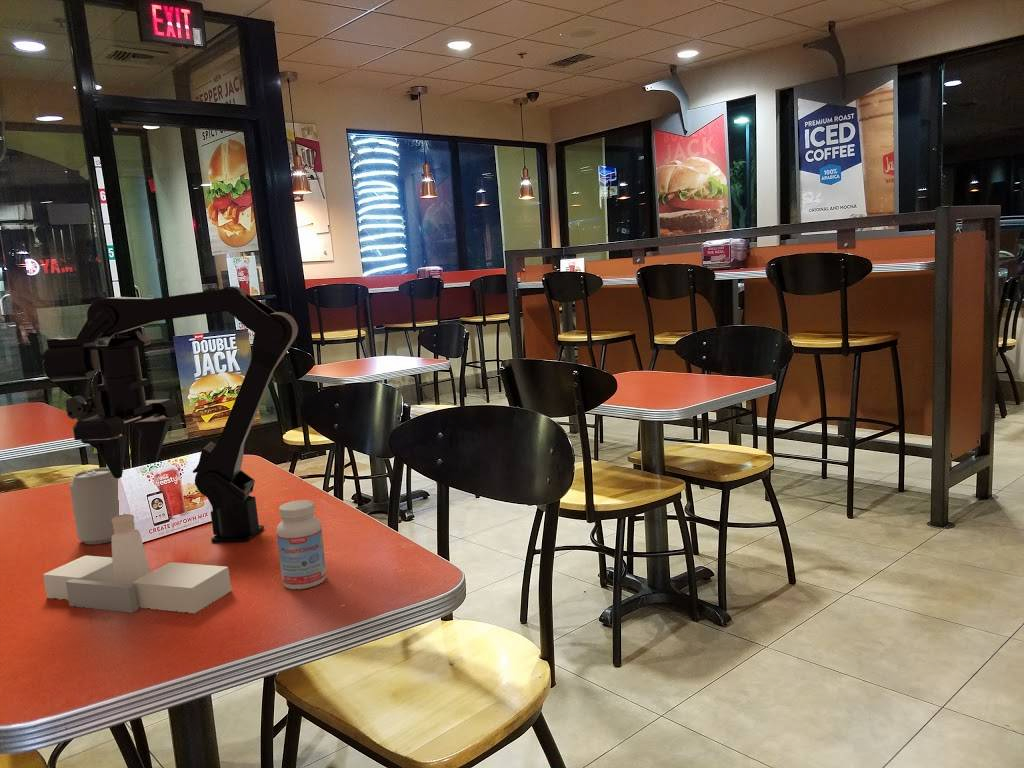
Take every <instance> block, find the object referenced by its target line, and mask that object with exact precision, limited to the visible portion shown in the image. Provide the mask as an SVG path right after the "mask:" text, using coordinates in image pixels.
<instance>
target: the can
mask: <svg viewBox="0 0 1024 768" xmlns="http://www.w3.org/2000/svg"><path fill="white" fill-rule="evenodd" d="M72 478H73V479H72V481H71V482H70V483H69V490H70V491H69V493H70V497H71V502H72V509H73V515H74V522H75V526H76V527H75V528H76V534H77V539H78V540H79V541H81V542H83V543H85V544H86V545H102V544H105V543H110V542H112V535H113V534H115V533H114V528H113V523H112V519H113V518H114V517H116V516H119V500H118V479H119V480H120V478H114V477H113V475H112V473H111V472H110V470H109V468H108V467H96V468H91V469H86V470H81V471H79V472H77V473H74V474H73V475H72Z"/></svg>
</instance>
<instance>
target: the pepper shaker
mask: <svg viewBox="0 0 1024 768" xmlns="http://www.w3.org/2000/svg"><path fill="white" fill-rule="evenodd" d="M112 523H113V528H114V533H115V534H113V535H112V541H111V558H112V565H113V583H122V584H132V582H134V581H135V580H137V579H139V578H141V577H143V576H145V575H147V574H149V573H151V570H150V566H149V562H148V559H147V555H146V551H145V548H144V544H143V541H142V537H141V534H140V530H138V529H136V528H135V526H136V525H135V515H133V514H129V513H124V514H123V515H119V516H116V517H114V518H113V519H112Z"/></svg>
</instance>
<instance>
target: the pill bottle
mask: <svg viewBox="0 0 1024 768" xmlns="http://www.w3.org/2000/svg"><path fill="white" fill-rule="evenodd" d="M278 509H279V510H278V511H279V517H280V519H281V521H280V522H279V524H277V527H276V539H277V540H276V541H277V547H278V548H277V550H278V554H279V555H278V557H279V563H280V564H279V565H280V574H281V581H282V585H283V586H284V587H285V588H287V589H289V590H295V589H298V590H305V589H306V588H307V589H310V587H311V588H314V587H317V586H319V585H320V583H321V584H322V583H324V581H325V580H326V579H327V570H326V569H327V568H326V559H325V557H326V556H325V549H324V539H323V538H324V537H323V527H322V522H321V520H320V519H319V518H318V517H317V516H314V515H315V513H316V512H315V511H316V510H315V504H314V501H313V500H308V499H298V500H292V501H288V502H285V503H283V504H281V505H280V506H279V508H278ZM318 584H319V585H318ZM316 585H317V586H316ZM313 586H314V587H313Z"/></svg>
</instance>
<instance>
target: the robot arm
mask: <svg viewBox="0 0 1024 768" xmlns="http://www.w3.org/2000/svg"><path fill="white" fill-rule="evenodd" d="M223 312H227V313H229V314H230V315H232V316H233V317H234V318H235V319H236V320H238V322H239V323H241V324H242V325H243V326H245V327H246V328H247V329H248V330H250V331H251V332H253V333H254V335H253V340H252V346H251V355H250V362H249V366H248V368H247V371H246V373H245V374H244V378H243V380H242V383H241V385H240V388H239V390H238V393H237V396H236V397H235V400H234V403H233V405H232V407H231V410H230V411H229V412H230V413H229V415H228V417H227V420H226V422H225V424H224V425H225V426H224V427H223V429H222V431H221V435H220V437H219V439H218V441H217V443H215V442H213V441H210V442H209V443H208V444H207V445H206V446H205V447H204V448H202V449H201V451H200V456H199V461H198V464H197V465H196V467H195V468H194V469H193V470H192V473H193V474H195V477H194V485H195V487H196V489H197V491H198V492H199V493H200V494H202V496H204V497H206V498H207V500H208V502H209V504H210V506H211V509H212V510H210V519H211V525H212V527H211V528H212V532H213V537H211V538H210V541H211V542H213V543H214V542H215V543H217V542H247V541H249V540H251V539H252V538H253V537H255V536H256V535H257V534H258V533H260V532H261V531H263V529H264V528H265V526H264V525H263V524H260V523H259V516H258V508H257V507H258V506H257V501H256V496H251V495H250V494H252V492H254V487H255V483H256V480H255V479H254V478H253V477H251V476H250V475H248V474H247V473H246V472H244V471H243V470H242V465H243V460H244V451H245V450H244V448H245V443H246V440H247V438H248V436H249V433H250V431H251V428H252V427H253V423H254V421H255V418H256V416H257V414H258V411H259V408H260V407H261V403H262V401H263V398H264V396H265V394H266V391H267V389H268V387H269V384H270V382H271V379H272V378H273V374H274V372H275V369H276V368H277V367H278V365H279V363H280V362H281V360H282V359H283V358H284V357H285V355H286V353H287V352H288V350H289V349H290V347H291V345H292V344H293V343H294V341H295V340H296V338H297V336H298V332H299V326H298V323H297V321H296V320H295V318H294V317H293V316H292V315H291V314H288V313H287V312H284V311H275V310H274V309H273V308H272V307H269V306H268V305H266V304H264V303H263V302H262V301H259V300H258V299H256V298H255V297H253V296H251V295H250V294H249V293H247V292H246V291H245V290H244V288H241V287H239V286H233V285H232V286H225V287H223V288H220V289H213V290H207V291H200V292H192V293H185V294H178V295H170V296H163V297H156V298H155V297H154V298H152V297H132V296H131V297H130V296H129V297H128V296H114V297H101V298H98V299H95V300H93V301H92V302H91V304H90V306H89V307H88V310H87V313H86V314H87V317H86V318H87V320H86V322H85V323H84V325H83V327H82V328H81V330H80V331H79V333H78V335H77V337H69V338H68V337H66V338H64V337H52V338H48V339H46V346H47V347H46V348H45V351H44V356H43V361H42V366H43V370H44V374H45V375H46V377H47V378H48V379H49V380H50V381H52V382H61V381H63V382H64V381H73V380H84V379H86V380H87V379H92V378H93V377H94V376H95V375H96V372H100V374H101V379H102V383H100V384H97V385H96V387H95V395H93V396H91V397H87V398H84V397H83V396H82V395H76V396H72V397H70V398H68V399H66V400H65V410H66V414H67V417H68V418H69V419H71V420H76V422H75V423H74V425H73V427H72V432H73V438H74V439H73V440H74V441H80V442H81V443H82V444H85V445H86V444H87V445H89V446H91V447H93V448H95V449H96V450H97V452H98V453H99V455H100V456H101V458H102V460H103V461H104V463H105V465H106V467H107V468H109V470H110V472H111V473H112V475H113V477H114V478H119V479H121V478H122V477H123V473H124V466H125V465H124V464H125V455H126V446H127V438H128V437H127V436H128V435H127V434H124V431H125V429H126V426H129V425H131V424H133V425H134V426H135V427H136V428H138V430H139V431H140V432H141V434H142V439H143V443H144V448H145V452H146V456H147V460H148V462H149V463H150V464H154V463H157V462H158V458H159V456H160V453H161V450H162V448H163V444H164V442H165V439H166V436H167V433H168V432H169V429H170V427H171V424H172V423H173V422H174V420H175V419H174V417H175V416H177V415H179V413H178V405H177V403H176V402H175V401H174V400H173V399H172V398H168V399H165V398H164V399H147V400H146V394H145V388H144V387H146V386H147V387H148V386H149V385H150V382H149V378H143V375H142V368H141V361H140V354H139V352H140V351H139V347H144V346H148V345H151V344H152V340H151V339H150V338H148V337H146V336H145V335H143V334H142V333H141V331H139V330H136V329H138V328H140V327H145V326H147V325H150V324H153V323H155V322H159V321H165V320H172V319H173V320H174V319H179V318H180V319H181V318H185V317H193V316H202V315H210V314H216V313H223ZM134 329H135V330H136V331H132V330H134ZM128 331H132V333H131V334H130V335H129V336H119V337H113V336H115V334H116V335H117V334H120V333H121V334H122V333H126V332H128ZM108 339H109V341H108V344H97V345H96V342H101V341H104V340H108Z"/></svg>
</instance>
